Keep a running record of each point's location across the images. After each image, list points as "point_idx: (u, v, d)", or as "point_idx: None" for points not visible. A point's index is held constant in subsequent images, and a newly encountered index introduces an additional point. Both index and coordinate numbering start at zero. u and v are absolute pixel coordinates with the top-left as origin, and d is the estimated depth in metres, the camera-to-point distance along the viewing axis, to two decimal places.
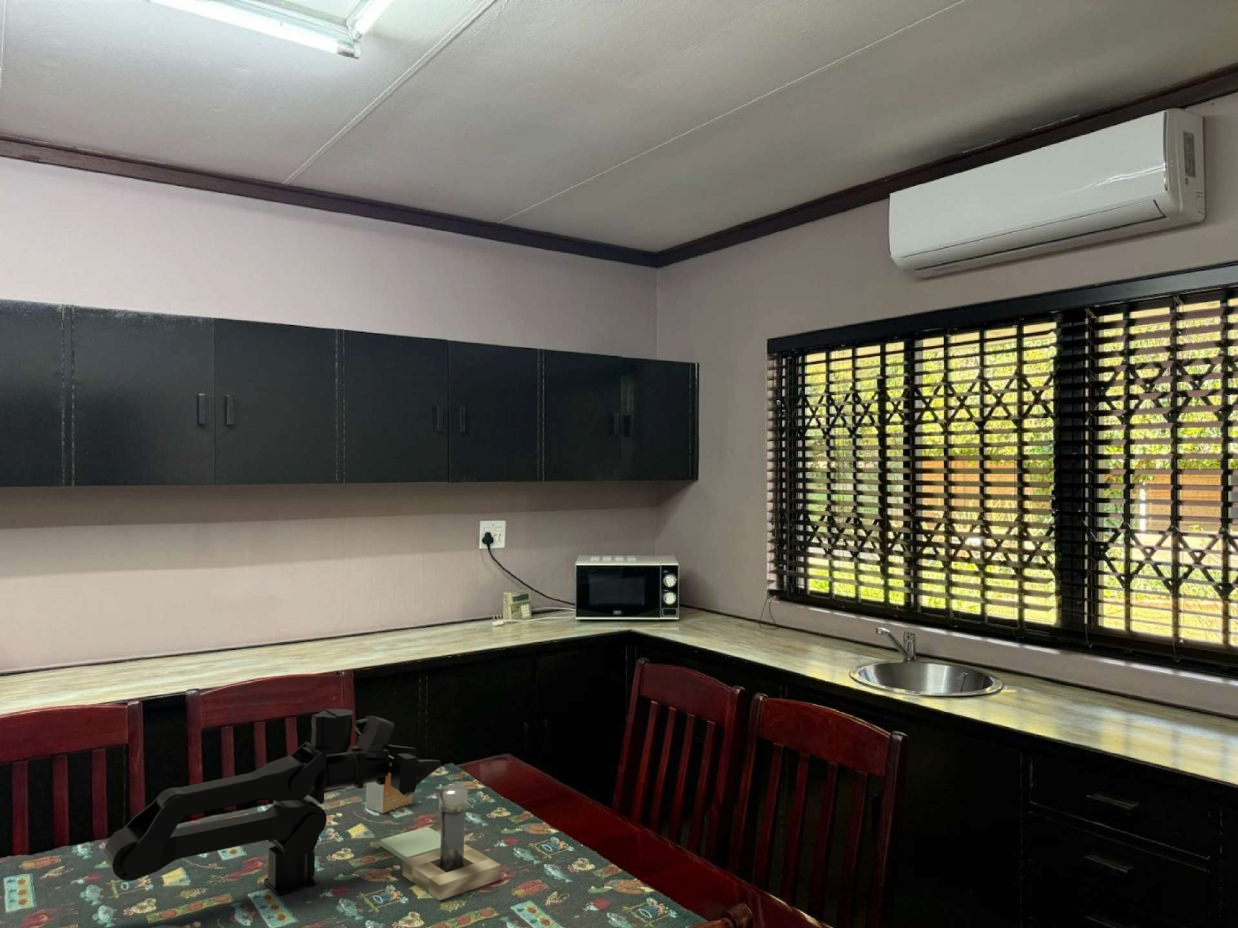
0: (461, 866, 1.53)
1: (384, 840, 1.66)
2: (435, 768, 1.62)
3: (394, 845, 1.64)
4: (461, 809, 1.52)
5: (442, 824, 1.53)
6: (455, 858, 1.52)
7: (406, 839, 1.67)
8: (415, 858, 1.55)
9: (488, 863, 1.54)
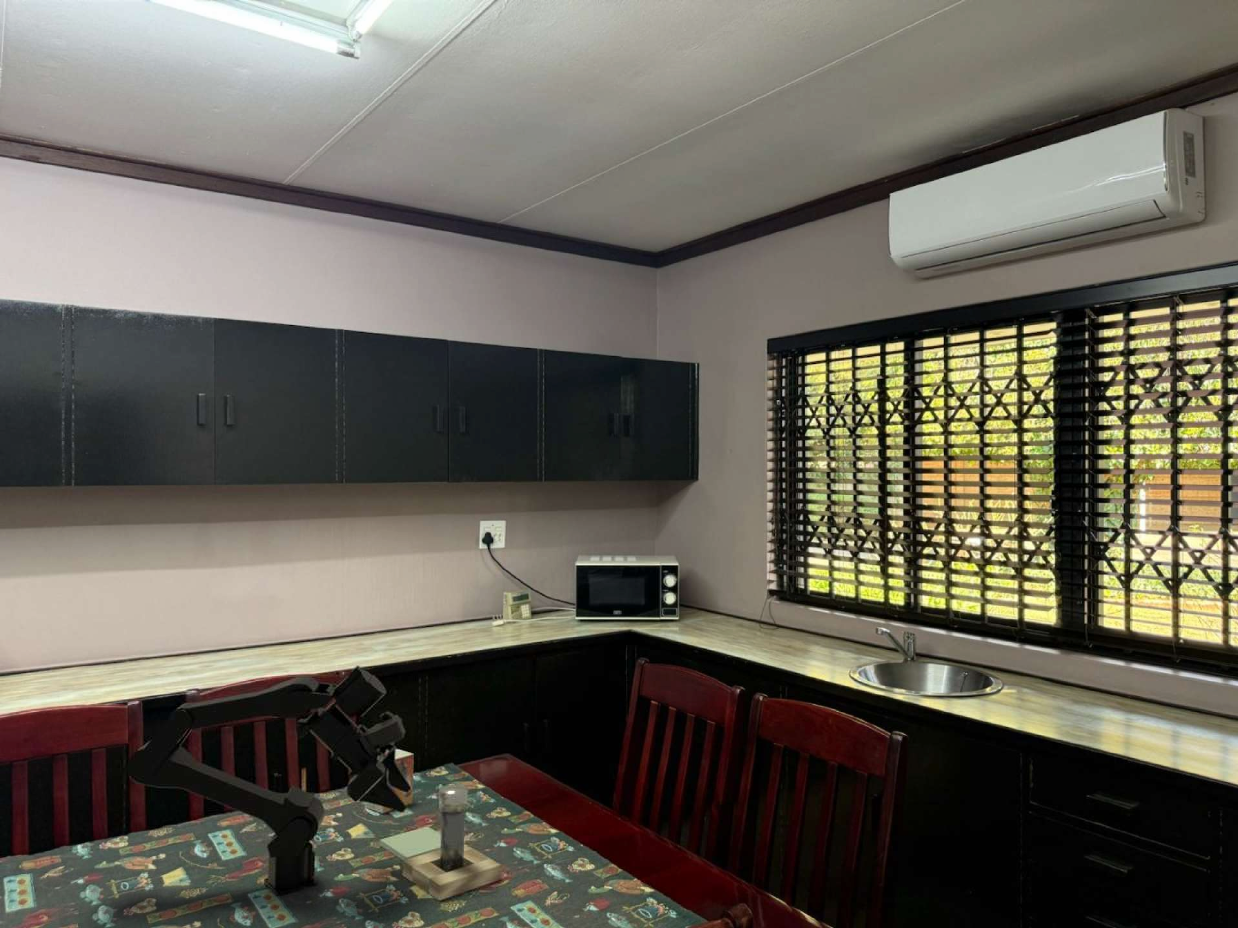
0: (461, 866, 1.53)
1: (384, 840, 1.66)
2: (396, 808, 1.48)
3: (394, 845, 1.64)
4: (461, 809, 1.52)
5: (442, 824, 1.53)
6: (455, 858, 1.52)
7: (406, 839, 1.67)
8: (415, 858, 1.55)
9: (488, 863, 1.54)
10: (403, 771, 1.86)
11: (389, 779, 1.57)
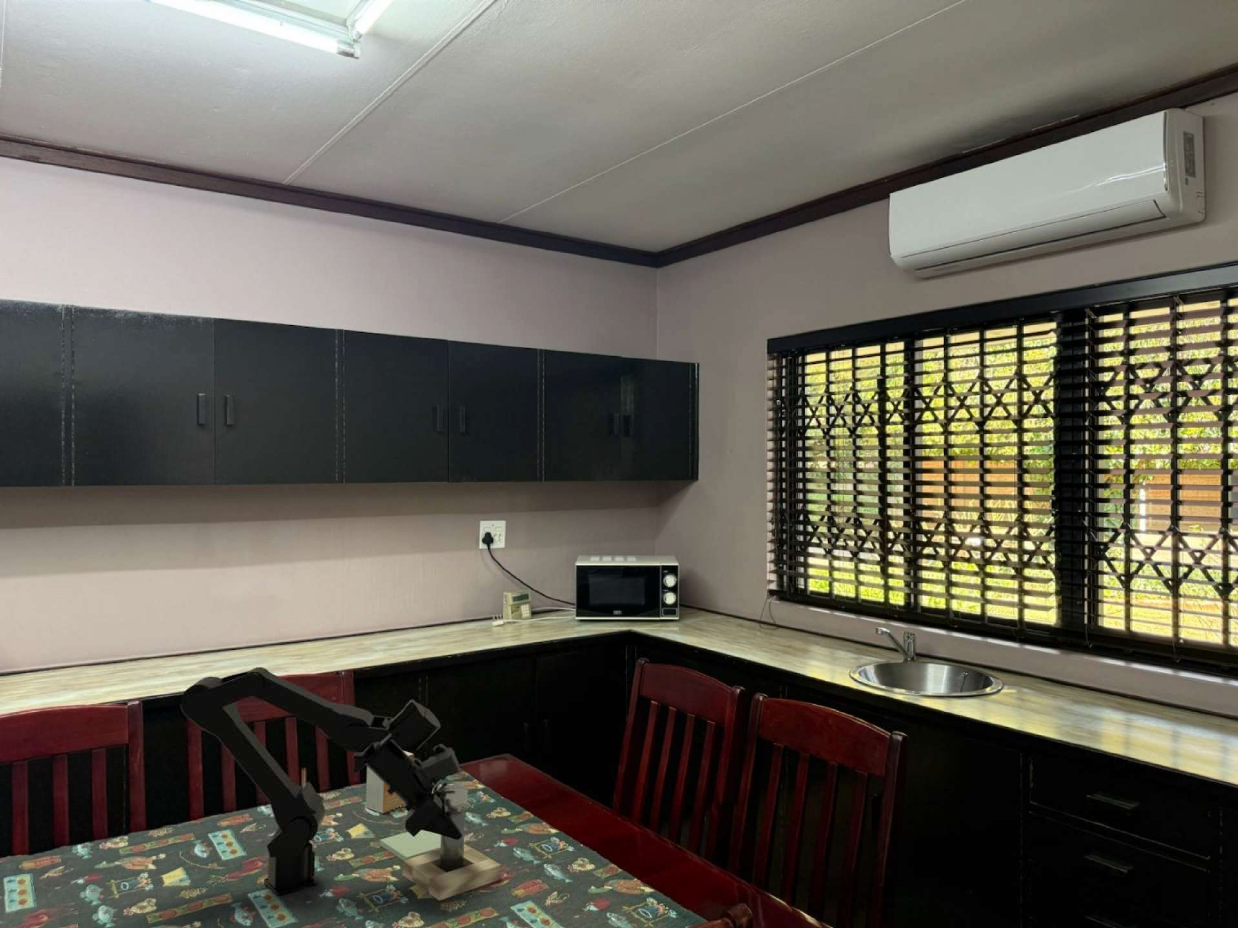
0: (461, 866, 1.53)
1: (384, 840, 1.66)
2: (452, 836, 1.51)
3: (394, 845, 1.64)
4: (461, 809, 1.52)
5: None
6: (455, 858, 1.52)
7: (406, 839, 1.67)
8: (415, 858, 1.55)
9: (488, 863, 1.54)
10: None
11: None
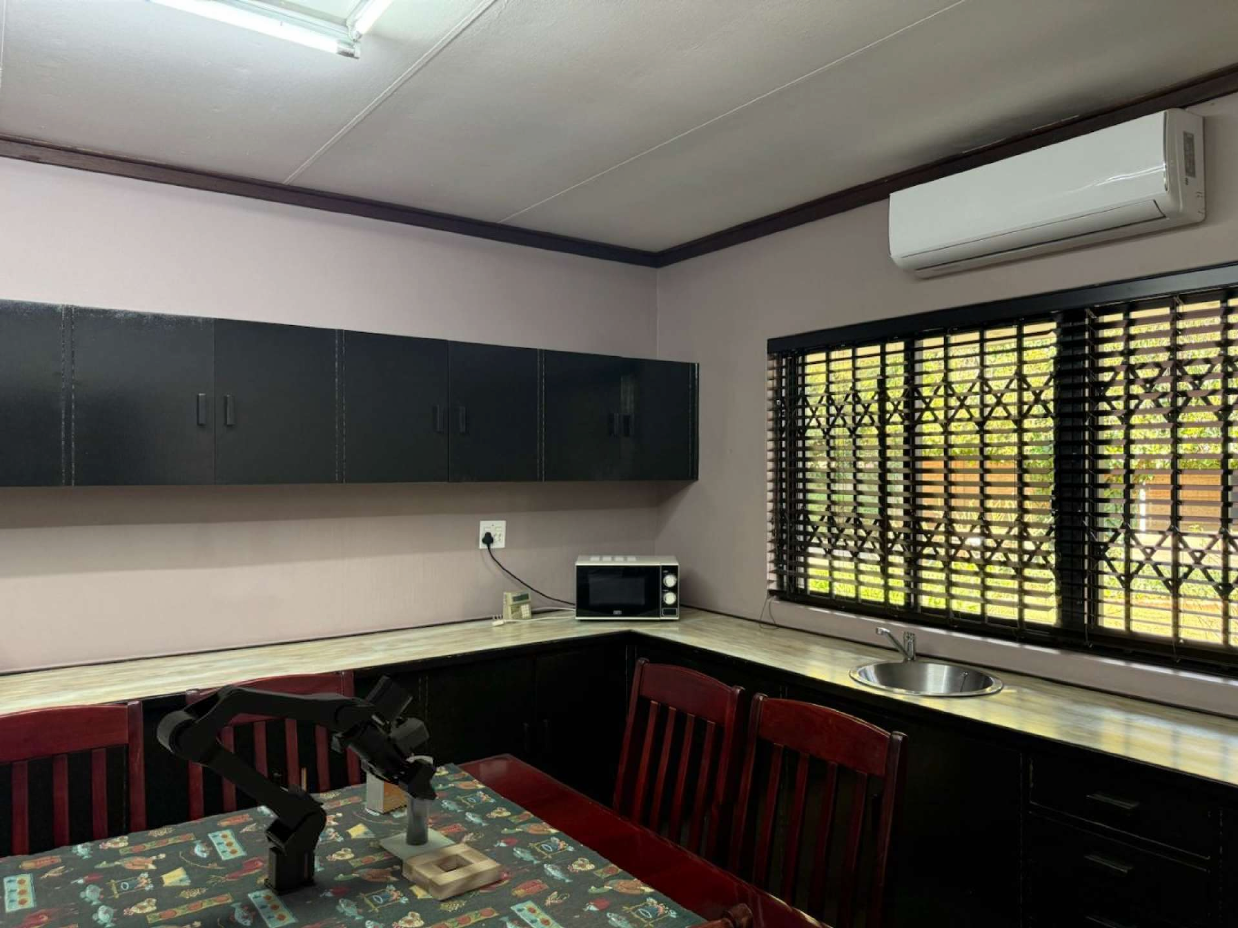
0: None
1: (384, 840, 1.66)
2: (430, 798, 1.63)
3: (394, 845, 1.64)
4: None
5: None
6: (425, 821, 1.65)
7: None
8: (415, 858, 1.55)
9: (488, 863, 1.54)
10: None
11: None
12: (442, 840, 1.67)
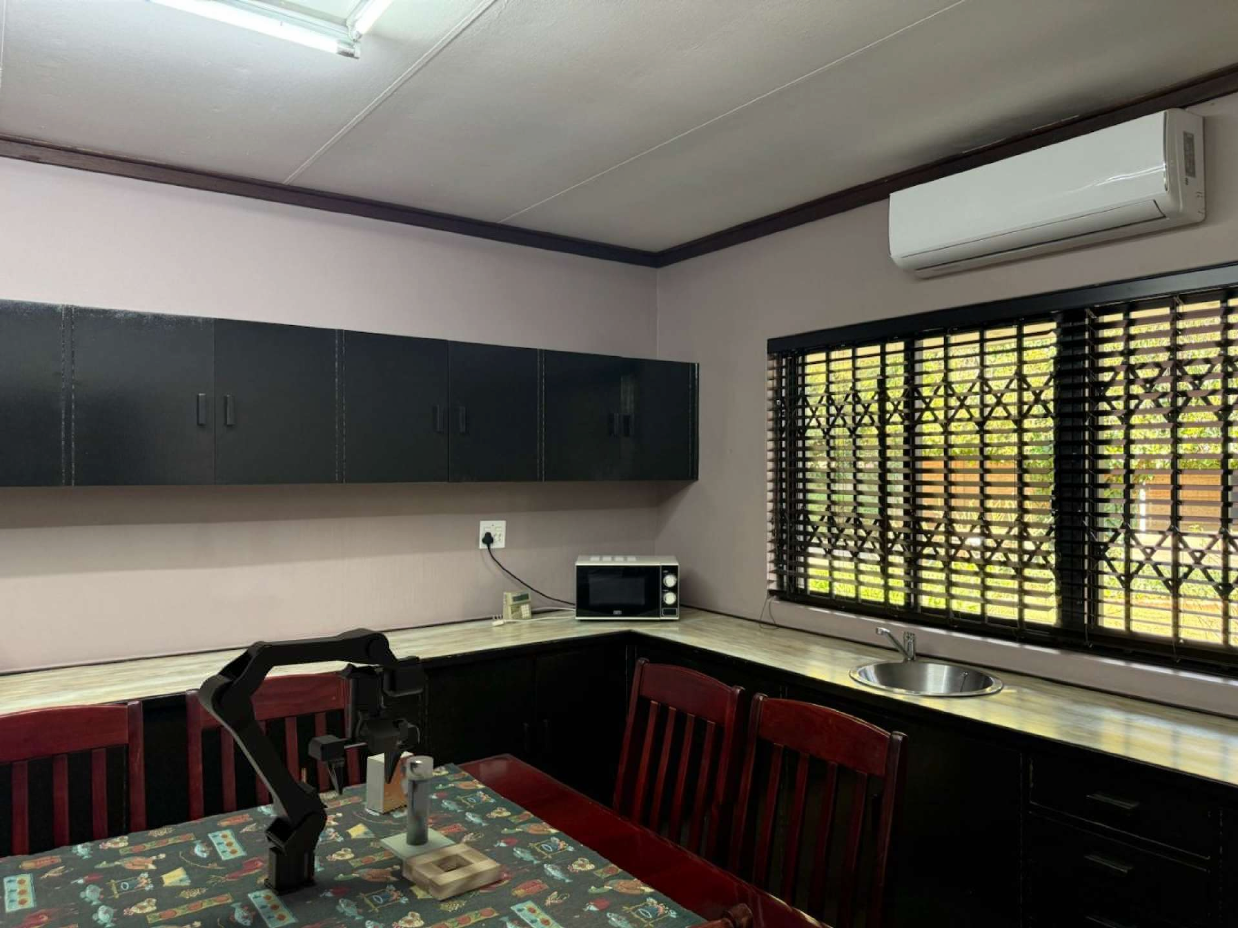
0: None
1: (384, 840, 1.66)
2: (335, 787, 1.56)
3: (394, 845, 1.64)
4: (431, 775, 1.66)
5: (413, 793, 1.64)
6: (425, 821, 1.65)
7: None
8: (415, 858, 1.55)
9: (488, 863, 1.54)
10: (403, 771, 1.86)
11: (386, 760, 1.63)
12: (442, 840, 1.67)
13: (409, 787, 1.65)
